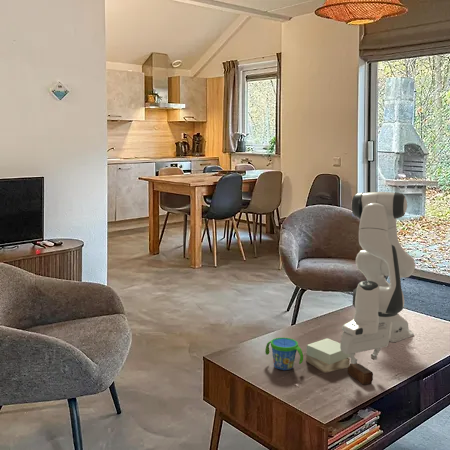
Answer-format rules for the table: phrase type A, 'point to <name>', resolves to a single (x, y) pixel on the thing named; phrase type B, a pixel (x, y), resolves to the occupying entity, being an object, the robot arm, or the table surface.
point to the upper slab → (326, 351)
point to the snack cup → (284, 352)
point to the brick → (360, 373)
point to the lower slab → (326, 367)
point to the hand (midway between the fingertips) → (364, 361)
